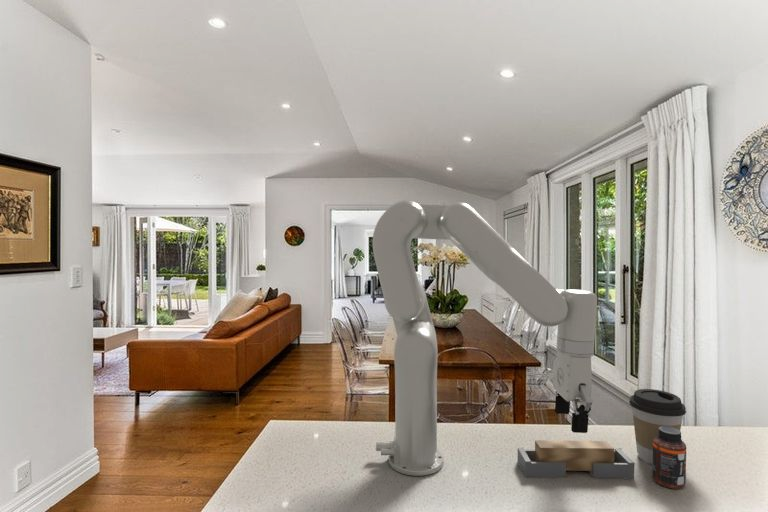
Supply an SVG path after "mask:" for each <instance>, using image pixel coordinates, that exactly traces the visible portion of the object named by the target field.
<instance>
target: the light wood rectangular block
mask: <svg viewBox="0 0 768 512" xmlns="http://www.w3.org/2000/svg"><path fill="white" fill-rule="evenodd" d="M534 450H535V462H565V463H566V471H580V472H581V471H583V472H584V471H585V472H589V471H593V463H614V451H615V447H613V446H612V445H611V444H610V443H609V442H608V441H607V440H550V439H549V440H547V439H545V440H534Z"/></svg>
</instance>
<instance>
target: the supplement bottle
mask: <svg viewBox="0 0 768 512" xmlns="http://www.w3.org/2000/svg"><path fill="white" fill-rule="evenodd" d="M658 434H659V435H658V436H656V437H654V439H653V463H652V464H651V465H652V467H651V468H652V469H651V475H652V479H653V480H654V481H655V482H656V483H657V484H659V485H660V486H662V487H665V488H668V489H673V490H681V489H683V488H684V487H685V486H686V481H687V479H686V476H687V445H686V444H687V443H685V442H684V441H683V440H682V431H681V430H680V431H679V430H678V429H676V428H672V427H667V426H662V427H659V432H658Z"/></svg>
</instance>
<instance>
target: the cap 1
mask: <svg viewBox="0 0 768 512" xmlns="http://www.w3.org/2000/svg"><path fill="white" fill-rule="evenodd" d="M517 464H518V466H519V468H520V469H521V471H522V473H523V475H524V477H525V478H526V477H527V478H529V477H530V478H566V475H567V474H566V471H567V470H566V463H565V462H535V449H524V447H517Z"/></svg>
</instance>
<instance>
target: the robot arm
mask: <svg viewBox="0 0 768 512" xmlns="http://www.w3.org/2000/svg"><path fill="white" fill-rule="evenodd" d="M372 233H373V235H372V250H373V251H372V252H373V257H374V261H375V266H376V270H377V274H378V275H377V276H378V280H379V284H380V288H381V291H382V296H383V301H384V307H385V310H386V312H387V313H388V315H389V316H390V317H391V318H392V321H393V324H394V328H395V331H396V335H397V336H396V339H395V342H394V343H395V344H394V352H393V355H394V357H393V358H394V359H393V361H394V362H393V363H394V387H395V388H394V390H395V391H394V396H395V397H394V399H395V400H394V401H395V404H394V405H395V406H394V407H395V408H394V409H395V411H394V413H395V417H394V419H395V426H394V427H395V436H394V437H393V440H392V441H390V440H389V442H382V441H379V442H377V441H376V442H375V452H380V455H381V456H388V464H389V466H390V467H391V468H392V469H394V471H396V472H398V473H401V474H404V475H407V476H412V477H415V476H416V477H417V476H418V477H420V476H422V477H424V476H429V475H432V474H434V473H436V472H438V471H440V470H441V469H442V468H443V466H444V456H443V454H442V453H441V452H440V451H439V450H438V449H437V446H438V445H437V443H438V440H437V439H438V437H437V433H438V432H437V431H438V429H437V427H438V425H437V424H438V412H437V411H438V377H437V376H438V355H439V354H438V353H439V351H438V350H439V349H438V340H437V333H436V328H435V325H434V322H433V318H432V317H433V316H432V314H431V309H430V306H429V302H428V298H427V294H426V291H425V288H424V287H423V284H422V283H421V282H420V281H419V279H418V276H417V272H416V271H417V270H416V268H415V262H414V259H413V255H412V250H411V249H412V248H411V245H412V244H411V243H412V240H413V239H418V240H419V239H422V240H427V239H428V240H449V241H450V242H452V244H453V245H454V246H456V248H458V250H459V251H460V252H461V253H463V254H464V256H466V257H467V259H469V260H470V262H471V263H473V264H474V266H475V267H476V268H478V270H479V271H480V272H482V273H483V274H484V276H486V277H487V278H488V279H489V280H490V281H492V282H493V283H495V284H497V285H498V286H499V287H500V288H501V289H502V290H503V291H504V292H505V293H507V294H508V295H509V296H510V297H511V298H512V299H513V300H514V301H515V302H516V303H517V304H518V305H519V306H520V307H522V311H524V313H525V314H526V315H527V316H528V317H529V318H530V319H532V320H533V321H535V323H537V324H538V325H540V326H543V327H548V328H550V327H556V326H557V335H556V350H555V351H556V354H555V363H554V367H553V368H554V370H553V377H552V388H553V389H554V390H555V404H554V412H555V414H559V415H569V414H570V413H571V411H570V410H571V409H570V408H571V402H572V407H573V411H574V412H572V413H571V428H570V429H571V432H572V433H577V434H587V433H588V432H589V431H588V429H589V428H588V427H589V417H590V414H591V413H590V411H591V410H592V409H591V408H592V404H593V398H592V397H591V396H592V382H593V381H592V379H593V378H592V374H593V373H592V357H593V356H594V355H595V354H594V351H595V338H596V337H595V336H596V323H597V310H598V309H597V308H598V307H597V306H598V297H597V295H596V293H594V292H592V291H589V290H585V289H559V288H556V287H555V286H553V285H552V284H551V283H550V282H549V281H548V280H547V279H546V278H545V277H544V276H543V275H542V274H541V273H540V272H539V271H538V270H537V269H536V268H535V267H534V266H532V265H531V263H529V262H528V261H527V259H525V258H524V257H523V256H522V255H521V254H520V253H519V252H518V250H516V249H515V248H514V247H513V246H512V245H511V244H509V243H508V241H507V240H506V239H505V238H504V237H502V235H501V234H500V233H499V232H498V231H496V230H495V229H494V228H493V227H492V226H491V225H490V224H489V223H488V221H486V220H485V219H484V218H483V217H482V216H481V215H480V214H479V213H478V212H477V211H476V210H475V208H473V207H472V206H471V205H469V204H468V203H466V202H461V201H460V202H454V203H451V204H423V203H422V204H421V203H420V204H419V203H417V202H416V201H413V200H410V199H409V200H407V199H406V200H405V199H404V200H401V201H397V202H396V203H394V204H392V205H390V207H388V208H387V209H386V210H385V211H384V212H383V213H382V215H381V216H380V218H379V219H378V221H377V223H376V225H375V228H374V231H373V232H372ZM578 404H580V405H578Z"/></svg>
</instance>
